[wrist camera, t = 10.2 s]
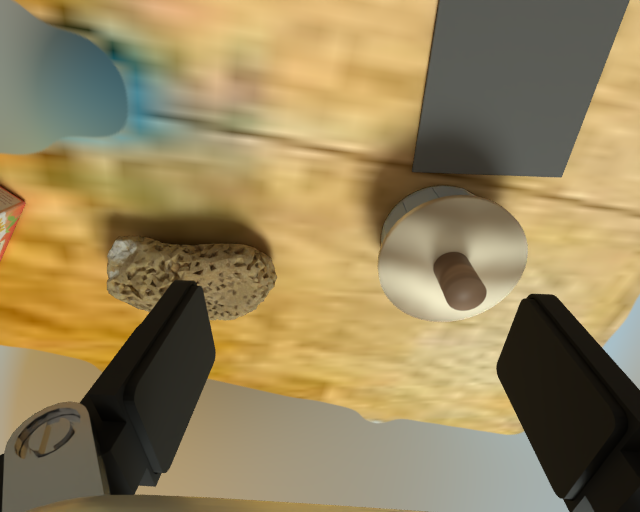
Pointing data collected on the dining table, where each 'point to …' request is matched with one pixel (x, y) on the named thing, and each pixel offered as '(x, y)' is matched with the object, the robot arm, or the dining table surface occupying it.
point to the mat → (511, 83)
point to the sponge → (190, 274)
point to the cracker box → (8, 217)
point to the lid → (452, 258)
